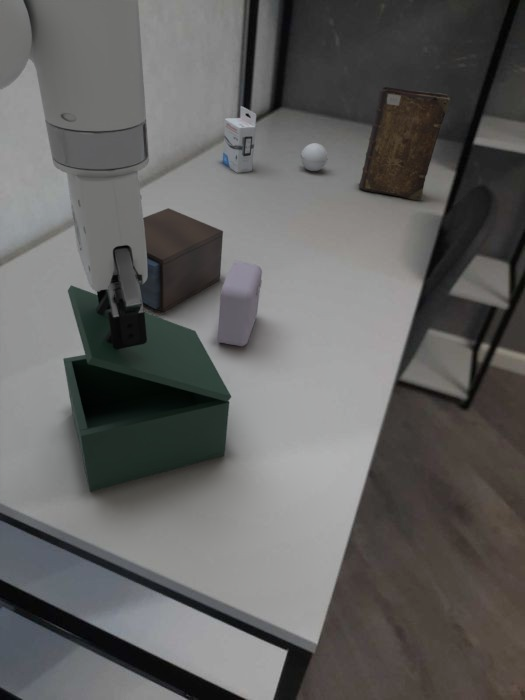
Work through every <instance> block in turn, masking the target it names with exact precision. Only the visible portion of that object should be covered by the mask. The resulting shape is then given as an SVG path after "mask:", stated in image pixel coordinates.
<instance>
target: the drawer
mask: <svg viewBox="0 0 525 700" xmlns="http://www.w3.org/2000/svg"><path fill="white" fill-rule="evenodd" d="M147 268H148V276H147V280H146V282H145V283H144V284H140V282H139V285H140V291H141V297H142V303H143V304H144V305H146V306H148V307H150V308H153V309H154V310H158V309H157V308H159V307H160V306H161V296H160V264H159V262H157V261H155V260H153V259H151V258H149V257H147Z"/></svg>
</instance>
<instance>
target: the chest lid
mask: <svg viewBox="0 0 525 700" xmlns="http://www.w3.org/2000/svg"><path fill="white" fill-rule="evenodd" d="M112 281H116V280H111V282H112ZM105 291H106V293H105V295H104V297H103V298H102V300H101V302H100V303H99V302H98V295H97V293H93V292H91V291H88V290H85V289H83V288H80V287H77V286H74V285H72V284H71V285H70V286H69V288H68V289H67V294H68V297H69V301H70V305H71V308H72V313H73V315H74V319H75V322H76V326H77V329H78V333H79V336H80V340H81V344H82V347H83V351H84V355H86V359H87V362H88V364H90V365H94V366H98V367H102V368H105V369H109V370H113V371H116V372H120V373H124V374H127V375H131V376H135V377H138V378H142V379H146V380H149V381H153V382H157V383H160V384H164V385H168V386H171V387H175V388H179V389H182V390H186V391H190V392H194V393H197V394H201V395H205V396H208V397H212V398H216V399H219V400H223V401H227V402H228V401H229V402H230V400H231V398H232V395H231V393H230V392H229V389H228V388H227V386H226V384H225V382H224V381H223V378H222V377H221V375H220V373H219V371H218V370H217V368H216V366H215V364H214V362H213V361H212V359H211V357H210V355H209V353H208V352H207V350H206V347H205V346H204V345H203V342H202V341H201V339H200V337H199V335H198V333H197V332H196V330H194V329H192V328H189V327H185V326H183V325H181V324H177V323H175V322H172V321H169V320H167V319H164V318H162V317H158V316H156V315H154V314H150V313H147V312H145V311H144V313H145V324H146V335H147V342H146V343H145V344H141V345H136V346H131V347H126V348H121V349H115V348H114V347H113V344H112V337H111V331H110V324H109V317H108V312H111V309H108V310H106V309H107V307H108V305H109V304H110V303H109V297H108V292H107V289H106V290H105ZM115 295H116V300H117V302H118V299H122V291H121V289H117V290H115Z"/></svg>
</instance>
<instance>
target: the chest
mask: <svg viewBox="0 0 525 700" xmlns="http://www.w3.org/2000/svg"><path fill="white" fill-rule="evenodd" d="M63 366H64V372H65V378H66V383H67V389H68V395H69V401H70V407H71V413H72V417H73V423H74V427H75V431H76V436H77V440H78V446H79V449H80V450H79V451H80V454H81V458H82V464H83V468H84V472H85V477H86V481H87V486H88V490H89V491H88V492H93V491H96V490H101V489H104V488H109V487H111V486H117V485H119V484H123V483H127V482H131V481H134V480H138V479H143V478H146V477H149V476H153V475H157V474H160V473H164V472H168V471H172V470H175V469H180V468H184V467H186V466H189V465H194V464H197V463H201V462H205V461H209V460H212V459H217V458H220V457H223V456H226V455H225V454H226V443H227V432H228V423H229V422H228V421H229V412H230V411H229V410H230V400H229V401H228V402H227V401H223V400H219V399H216V398H212V397H208V396H205V395H201V394H197V393H194V392H190V391H186V390H182V389H179V388H175V387H171V386H168V385H164V384H160V383H157V382H153V381H149V380H146V379H142V378H138V377H135V376H131V375H127V374H124V373H120V372H116V371H113V370H109V369H105V368H102V367H98V366H94V365H90V364H88V362H87V359H86V355H85V354H82V355H76V356H70V357H64V358H63Z"/></svg>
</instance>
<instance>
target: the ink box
mask: <svg viewBox="0 0 525 700" xmlns="http://www.w3.org/2000/svg"><path fill="white" fill-rule="evenodd" d="M239 108H240V109H239V110H240V112H239V117H232V118H231V117H230V118H229V117H228V118H224V133H223V148H222V149H223V151H222V163H223V164H224V165H225V166H227V167H228V168H230V170H232V171H234V172H235V173H236V174H240V173H249V172H253V163H254V162H253V161H254V151H255V141H256V139H255V138H256V128H257V127H256V125H257V113H255V112H253V111H252V110H250V109H248V108H246V107H244V106H242V105H240V107H239ZM247 115H248V116H247ZM249 116H250V117H249Z"/></svg>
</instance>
